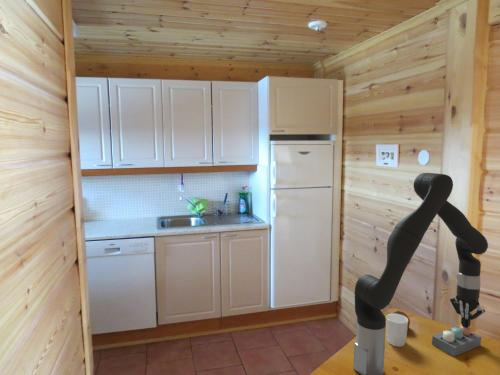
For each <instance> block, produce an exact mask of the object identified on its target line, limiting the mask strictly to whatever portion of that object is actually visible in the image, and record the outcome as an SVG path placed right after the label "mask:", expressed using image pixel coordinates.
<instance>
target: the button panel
mask: <svg viewBox="0 0 500 375" xmlns="http://www.w3.org/2000/svg"><path fill="white" fill-rule="evenodd" d="M455 327H456V328H460V325H457V326H455ZM451 330H452V328H450V329H447V330H446V331H451ZM431 338H432V339H431V345H432V346H434V347H436V348H438V349H440V350H441V351H443V352H445V353H447V354H449V355H451V357H456V356H460V355H461V354H463V353H466V352H468V351H470V350H473V349H475V348H478V347H480V346H481V344H482V336H481V335H478V334H476V333H475V332H472V331H471V336H469V337H465V336H463V338H462V339H461V340H459V341H458V340H457V339H455V338H454V343H451V344H449V343H447V342H445V341H443V331H441V332H439V333H436V334H434V335H432V337H431Z"/></svg>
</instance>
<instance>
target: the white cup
mask: <svg viewBox="0 0 500 375" xmlns="http://www.w3.org/2000/svg"><path fill="white" fill-rule="evenodd" d="M385 318H386V328H385V329H386V341H387V343H388V344H390V345H391V346H393V347H404V346H405V345H406V344H407V343H406V341H407V336H408V335H407V334H408V329H407V328H409V327H408V318H409V317H408V318H407V317H405V316H403V315H401V314H396V313H394V312H391V313H389V314H387V315H386V316H385Z"/></svg>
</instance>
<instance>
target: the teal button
mask: <svg viewBox="0 0 500 375" xmlns="http://www.w3.org/2000/svg"><path fill="white" fill-rule="evenodd" d="M456 327H457V326H455V327H453V326H452V327H451V329H452V330H451V332H453V333H454V334H455V336H454V338H455V339H457V340H458V341H459V340H461V339H462V338H463V330H462V329H460V328H456Z"/></svg>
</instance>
